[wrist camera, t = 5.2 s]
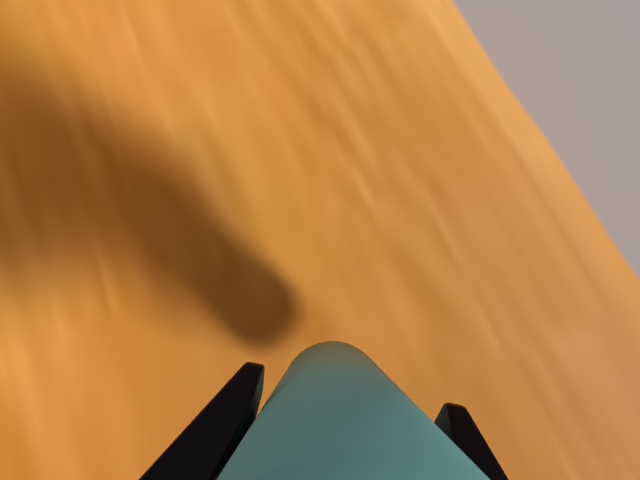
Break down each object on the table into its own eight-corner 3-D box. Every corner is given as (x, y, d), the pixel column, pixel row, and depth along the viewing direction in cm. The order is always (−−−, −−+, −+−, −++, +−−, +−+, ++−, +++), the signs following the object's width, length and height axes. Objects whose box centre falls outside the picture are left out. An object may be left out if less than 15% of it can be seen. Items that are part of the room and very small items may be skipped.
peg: (401, 422, 16) (744, 911, 3) (306, 467, 15) (219, 1224, 3) (357, 324, 16) (478, 371, 4) (265, 366, 16) (38, 580, 3)
